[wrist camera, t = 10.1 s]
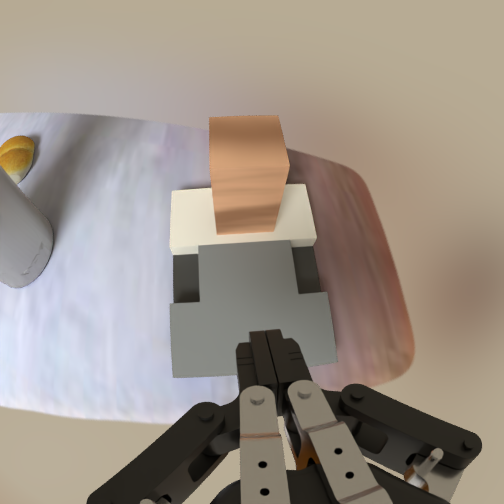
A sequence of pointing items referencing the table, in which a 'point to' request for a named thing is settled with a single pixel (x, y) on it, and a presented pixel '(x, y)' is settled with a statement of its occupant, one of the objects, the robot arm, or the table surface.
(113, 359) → the table surface
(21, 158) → the bread roll
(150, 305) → the table surface
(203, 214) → the pad
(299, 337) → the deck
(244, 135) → the block
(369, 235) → the table surface
